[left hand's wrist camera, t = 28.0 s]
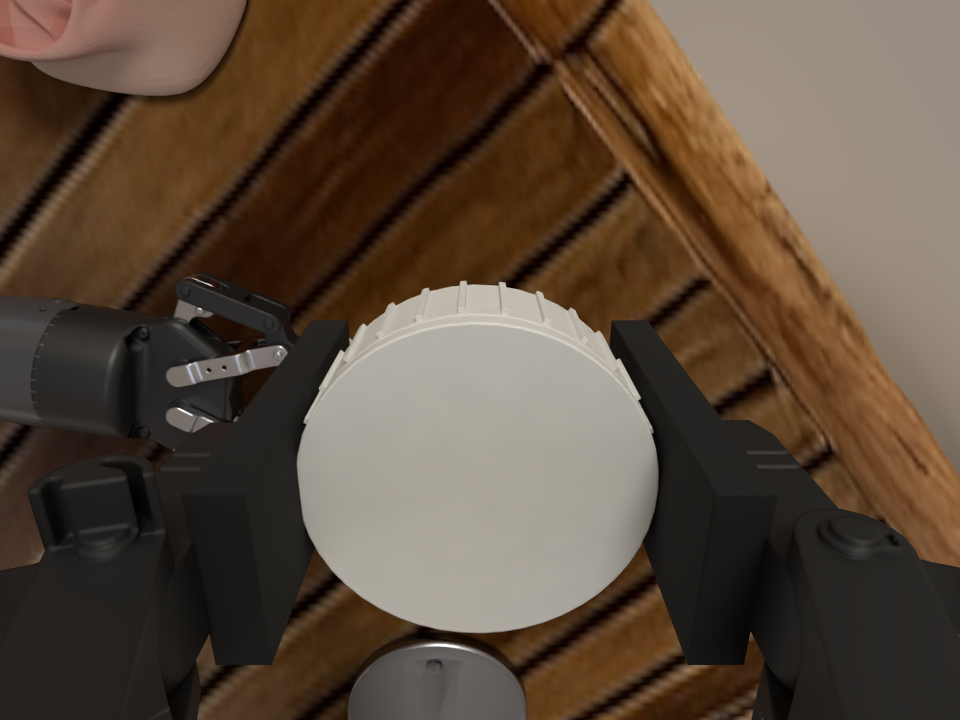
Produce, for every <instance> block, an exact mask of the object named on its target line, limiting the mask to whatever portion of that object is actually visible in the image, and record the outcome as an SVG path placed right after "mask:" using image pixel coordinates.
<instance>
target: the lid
mask: <svg viewBox="0 0 960 720" xmlns="http://www.w3.org/2000/svg"><path fill="white" fill-rule="evenodd" d="M319 390H320V391H319V393H318V395H317V397H316V399H315V401H314V402H313V404H312V406H311V408H310V410H309V411H308V413H307V415H306V417H305V419H304V423H305V424H306V427H305V429H304V432H303V434H302V437H301V441H300V446H299V450H298V454H297V472H298V481H299V489H300V498H301V506H302V514H303V521H304V524H305V527H306V529H307V532H308V535H309V537H310V539H311V540H312V542H313V544H314V546H315V547H316V549H317V551H318V553H319V554H320V556H321V557H322V558H323V560H324V561H325V562H326V564H327V565H328V566H329V568H330V569H331V570H332V571H333V572H334V573H335V574H336V575H337V576H338V577H339V578H340V579H341V580H342V581H343V582H344V583H345V584H346V585H347V586H348V587H349V588H351V589H352V590H353V591H354V592H356V593H357V594H358V595H359V596H361V597H362V598H363V599H365V600H367V601H368V602H370V603H371V604H373V605H375V606H376V607H378V608H379V609H382V610H384V611H386V612H388V613H390V614H392V615H394V616H396V617H398V618H401V619H404V620H407V621H410V622H412V623H415V624H418V625H422V626H426V627H430V628H435V629H439V630H446V631H454V632H465V633H489V632H503V631H509V630H515V629H520V628H525V627H529V626H532V625H536V624H540V623H543V622H546V621H548V620H551V619H553V618H556V617H558V616H561V615H563V614H565V613H567V612H569V611H571V610H573V609H575V608H577V607H579V606H581V605H582V604H584V603H585V602H587V601H588V600H590V599H591V598H593V597H594V596H595V595H597V594H598V593H600V592H601V591H602V590H603V589H604V588H605V587H607V586H608V585H609V584H610V583H611V582H612V581H613V580H615V578H616V577H617V576H618V575H619V574H620V573H621V572H622V571H623V569H624V568H625V567H626V566H627V565H628V564H629V562H630V561H631V559H632V558H633V556H634V555H635V553H636V552H637V550H638V549H639V547H640V546H641V543H642V541H643V539H644V537H645V535H646V533H647V531H648V529H649V526H650V523H651V520H652V517H653V514H654V511H655V506H656V500H657V495H658V482H659V467H658V460H657V453H656V447H655V444H654V441H653V437H652V433H654V432H653V428H652V426H651V424H650V422H649V420H648V418H647V416H646V414H645V413H644V411H643V409H642V407H641V405H640V403H639V401H638V400H639V399H641V397H640V395H639V393H638V392H637V390H636V388H635V386H634V384H633V382H632V380H631V379H630V377H629V375H628V373H627V371H626V369H625V367H624V366H623V364H622V362H621V360H620V359H617V360H615V358H614V356H613V354H612V352H611V350H610V348H609V346H608V344H607V342H606V340H605V339H604V337H603V335H602V334H601V332H600V331H598V332H596V333H594V332H593V331H592V330H591V329H590V328H589V327H588V326H587V325H586V324H584V323H583V322H582V321H581V320H580V319H579V318H578V315H577V313H576V311H575V310H574V309H572V308H570V309H569V310H568V311H567V310H565V309H564V308H562V307H560V306H559V305H557V304H555V303H553V302H551V301H548V300H546V299H544V296H543V293H541V292H538V291H537V292H536V294H535V295H534V294H531V293H527V292H524V291H521V290H517V289H512V288H506V284H505V283H502V282H499V286H490V285H467V281H461V282H460V286H454V287H448V288H443V289H439V290H434V291H429V288H425V289H423V290H422V293H421V295H419V296H416V297H413V298H410V299H408V300H406V301H404V302H402V303H400V304H398V305H397V306H396V305H395V304H394V303H391V304H389V305H388V307H387V309H386V311H385V313H384V314H382V315H381V316H379V317H378V318H376V319H375V320H374V321H373V322H372V323H370V324H369V325H368V326H366V325H365V324H362V325H361V326H360V327H359V329H358V331H357V333H356V335H355V337H354V339H353V341H352V342H351V344H350V346H349V347H348V348H347V350H346V351H345V352H343V351H341V350H340V352H339V353H338V355H337V357H336V359H335V360H334V362H333V364H332V366H331V368H330V369H329V371H328V373H327V375H326V376H325V378H324V380H323V382H322V384H321V385H320V387H319Z"/></svg>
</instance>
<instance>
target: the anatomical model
mask: <svg viewBox="0 0 960 720" xmlns="http://www.w3.org/2000/svg"><path fill="white" fill-rule="evenodd" d="M246 2H247V0H0V55H1V56H4V57H7V58H11V59H15V60H21V61H29V62H32V64H33V65H35V66H36V67H37V68H38V69H40V70H41V71H43V72H44V73H46V74H48V75H50V76H52V77H54V78H57V79H60V80H63V81H66V82H69V83H73V84H77V85H81V86H85V87H89V88H94V89H100V90H106V91H112V92H118V93H126V94H134V95H146V96H167V95H175V94H180V93H184V92H187V91H189V90H191V89H193V88H195V87H196V86H198V85H199V84H201V83H202V82H203V81H204V80H205V79H206V78H207V77H208V76H209V75H210V74H211V73H212V72H213V70H214V69H215V68H216V67H217V65H218V64H219V62H220V61H221V59H222V58H223V56H224V55H225V53H226V51H227V49H228V47H229V45H230V43H231V41H232V39H233V37H234V35H235V33H236V31H237V28H238V26H239V23H240V21H241V18H242V15H243V12H244V9H245V6H246Z"/></svg>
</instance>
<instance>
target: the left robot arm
mask: <svg viewBox="0 0 960 720" xmlns="http://www.w3.org/2000/svg"><path fill="white" fill-rule="evenodd" d="M349 346H350V341H349V329H348V321H312V322H311V323H310V324H309V326H308V327H307V328H306V330H305V331H304V332H303V334H302V335H301V336H300V338H299V339H298V340H297V342H296V343H295V344H294V346H293V347H292V348H291V350H290V351H289V352H288V354H287V355H286V356H285V357H284V359H283V360H282V361H281V363H280V364H279V365H278V367H277V368H276V369H275V371H274V372H273V373H272V375H271V376H270V377H269V379H268V380H267V381H266V383H265V384H264V385H263V387H262V388H261V389H260V391H259V392H258V393H257V394H256V396H255V397H254V398H253V400H252V401H251V402H250V404H249V405H248V406H247V408H246V409H245V410H244V412H243V413H242V414H241V416H240V417H239V418H238V420H237V421H236V422H211V423H209V424H207V425H206V426H204V427H202V428H201V429H199V430H197V431H195V432H194V433H192V434H190V435H189V436H187V437H186V438H185V439H184V440H183V441H182V442H181V444H180V445H179V446H178V447H177V448H176V449H175V451H174V452H173V453H172V457H168V459H167V460H166V461H165V462H164V463H163V464H162V465H161V467H160V468H159V469H160V470H159V471H156V472H155V471H154V467H153V463H151V462H150V461H148V460H147V459H146V458H144V457H142V456H137V455H131V454H106V455H100V456H96V457H91V458H86V459H81V460H79V461H76V462H73V463H70V464H68V465H65V466H62V467H60V468H57V469H56V470H54V471H52V472H50V473H49V474H47V475H45V476H43V477H42V478H40V479H39V480H38V481H37V482H36V483H35V484H34V485H33V486H32V487H31V488H30V489H29V490H28V491H27V494H28V497H29V500H30V503H31V507H32V510H33V513H34V516H35V520H36V523H37V526H38V529H39V533H40V536H41V539H42V542H43V546H44V549H45V552H44V554H43V556H42V558H41V560H40V562H39V563H35V564H31V565H26V566H21V567H16V568H11V569H6V570H1V571H0V720H197V716H198V708H199V700H200V692H201V686H200V679H199V673H198V669H197V664H196V659H197V657H198V655H199V653H200V651H201V649H202V647H203V645H204V643H205V641H206V639H207V637H208V635H209V634H210V638H211V643H212V648H213V653H214V658H215V663H216V665H272V663H273V660H274V657H275V655H276V652H277V649H278V647H279V644H280V641H281V638H282V636H283V633H284V630H285V627H286V625H287V622H288V619H289V617H290V614H291V611H292V608H293V606H294V603H295V600H296V598H297V595H298V592H299V589H300V587H301V584H302V581H303V579H304V576H305V573H306V570H307V568H308V565H309V562H310V559H311V557H312V554H313V551H314V549H315V546H314V544H313V542H312V540H311V539H310V537H309V535H308V532H307V529H306V527H305V524H304V521H303V514H302V506H301V498H300V489H299V481H298V472H297V454H298V450H299V446H300V441H301V437H302V434H303V432H304V429H305V427H306V424H305V423H304V419H305V417H306V415H307V413H308V411H309V410H310V408H311V406H312V404H313V402H314V401H315V399H316V397H317V395H318V393H319V391H320V390H319V387H320V385H321V384H322V382H323V380H324V378H325V376H326V375H327V373H328V371H329V369H330V368H331V366H332V364H333V362H334V360H335V359H336V357H337V355H338V353H339V352H340V350H341V351H343V352H345V351H346V350H347V348H348V347H349ZM610 350H611V352H612V354H613V356H614V358H615V360H617V359H620V360H621V362H622V364H623V366H624V367H625V369H626V371H627V373H628V375H629V377H630V379H631V380H632V382H633V384H634V386H635V388H636V390H637V392H638V393H639V395H640V397H641V399H639V400H638V401H639V403H640V405H641V407H642V409H643V411H644V413H645V414H646V416H647V418H648V420H649V422H650V424H651V426H652V428H653V432H654V433H652V437H653V441H654V444H655V447H656V453H657V460H658V467H659V482H658V495H657V500H656V506H655V511H654V514H653V517H652V520H651V523H650V526H649V529H648V531H647V533H646V535H645V537H644V539H643V541H642V542H643V544H644V547H645V550H646V552H647V555H648V558H649V561H650V563H651V566H652V569H653V571H654V574H655V577H656V580H657V582H658V585H659V588H660V591H661V593H662V596H663V599H664V601H665V604H666V607H667V610H668V612H669V615H670V618H671V620H672V623H673V626H674V629H675V631H676V634H677V637H678V639H679V642H680V645H681V648H682V650H683V653H684V656H685V659H686V661H687V664H688V665H744V661H745V656H746V651H747V646H748V641H749V636H750V631H751V633H752V635H753V637H754V639H755V641H756V643H757V645H758V647H759V648H760V650H761V652H762V654H763V656H764V658H765V660H764V664H763V669H762V673H761V678H760V682H759V687H758V692H757V696H756V701H755V705H754V710H753V715H752V720H762V718H763V720H960V568H959V567H954V566H949V565H943V564H938V563H933V562H929V561H925V560H921V559H919V557H918V555H917V553H916V551H915V549H914V548H913V547H912V546H911V544H910V543H909V542H908V541H907V540H906V538H905V537H904V536H903V535H901V534H900V533H898V532H897V531H895V530H894V529H892V528H891V527H889V526H888V525H886V524H884V523H882V522H880V521H877V520H875V519H873V518H870V517H868V516H866V515H863V514H859V513H855V512H851V511H847V510H842V509H838V508H837V506H836V505H835V504H834V503H833V502H832V501H831V500H830V498H829V497H828V496H827V495H826V494H825V493H824V492H823V490H822V489H821V488H820V487H819V486H818V485H817V484H816V482H815V481H814V480H813V479H812V478H811V477H810V476H809V474H808V473H807V472H806V471H805V470H804V469H801V465H800V464H799V463H798V462H797V461H796V460H795V458H794V457H793V456H792V455H788V450H787V449H786V448H785V447H784V446H783V445H782V444H781V442H780V441H779V440H778V439H777V438H776V437H775V436H774V435H773V434H772V433H770V432H768V431H767V430H765V429H763V428H761V427H760V426H758V425H756V424H755V423H753V422H751V421H749V420H722V419H721V418H720V416H719V415H718V414H717V412H716V411H715V410H714V408H713V407H712V406H711V404H710V403H709V402H708V400H707V399H706V398H705V396H704V395H703V394H702V392H701V391H700V390H699V388H698V387H697V386H696V385H695V383H694V382H693V381H692V379H691V378H690V377H689V375H688V374H687V373H686V371H685V370H684V369H683V367H682V366H681V365H680V363H679V362H678V361H677V359H676V358H675V357H674V355H673V354H672V353H671V351H670V350H669V349H668V347H667V346H666V345H665V344H664V342H663V341H662V340H661V338H660V337H659V336H658V334H657V333H656V332H655V330H654V329H653V328H652V326H651V325H650V324H649V322H648V321H612V323H611V336H610ZM348 720H527V705H526V694H525V688H524V685H523V681H522V679H521V677H520V675H519V673H518V671H517V670H516V668H515V667H514V666H513V664H512V663H511V662H510V661H509V660H508V659H507V658H506V657H505V656H504V655H503V654H501V653H500V652H499V651H497V650H496V649H495V648H493V647H491V646H489V645H488V644H486V643H483V642H481V641H479V640H476V639H473V638H470V637H467V636H463V635H458V634H451V633H423V634H417V635H412V636H408V637H404V638H401V639H398V640H396V641H393V642H391V643H389V644H387V645H385V646H384V647H382V648H380V649H379V650H378V651H376V652H375V653H374V654H372V655H371V656H370V657H369V658H368V659H367V660H366V661H365V662H364V664H363V665H362V666H361V668H360V669H359V671H358V672H357V674H356V676H355V679H354V681H353V685H352V689H351V694H350V699H349V703H348Z"/></svg>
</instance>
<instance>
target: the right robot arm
mask: <svg viewBox="0 0 960 720" xmlns="http://www.w3.org/2000/svg"><path fill="white" fill-rule="evenodd" d="M174 291H175V295H176V296H177V298H178V303H177V306H176V310H175V313H174V314H172V315H170V316H166V317H156V316H153V315H150V314H143V313H137V312H131V311H124V310H118V309H112V308H106V307H99V306H93V305H86V304H80V303H74V302H72V301H71V300H67V299H60V298H51V299H49V298H41V297H32V296H5V295H0V420H2V421H7V422H12V423H18V424H25V425H32V426H39V427H45V428H52V429H59V430H66V431H73V432H80V433H87V434H94V435H101V436H107V437H114V438H121V439H135V438H148V439H151V440H154V441H156V442H158V443H160V444H162V445H163V446H165V447H167V448H169V449H173V452H174V451H175V449H176V448H177V447H178V446H179V445H180V444H181V442H182V441H183V440H184V439H185V438H186V437H187V436H189V435H190V434H192V433H194V432H195V431H197V430H199V429H201V428H202V427H204V426H206V425H207V424H209V423H211V422H236V421H237V420H238V418H239V417H240V416H241V414H242V413H243V412H244V410H245V409H246V408H247V406H248V405H246V404H244V403H243V394H242V390H241V385H240V384H241V381H242V378H243V376H244V374H246V373H248V372H250V371H252V370H256V369H262V368H268V367H273V366H278V365H279V364H280V363H281V361H282V360H283V359H284V357H285V356H286V355H287V354H288V352H289V351H290V350H291V348H292V347H293V346H294V344H295V343H296V342H297V340H298V339H299V338H300V337H298V336H297V335H296V334H295V333H294V331H293V329H292V326H291V322H290V319H289V318H290V316H291V311H290V308H289V307H288V306H287V305H286V304H284V303H281V302H279V301H276V300H274V299H271V298H269V297H266V296H264V295H261V294H259V293H256V292H254V291H251V290H249V289H246V288H244V287H242V286H239V285H237V284H234V283H232V282H229V281H227V280H224V279H222V278H219V277H217V276H214V275H212V274H209V273H207V272H204V271H198V272H196V273H194V274H192V275H190V276H188V277H186V278H184V279H183V280H182V281H180V282H178V283H177V284H176V286H175V289H174ZM213 314H216V315H219V316H221V317H224V318H227V319H229V320H232V321H234V322H237V323H239V324H242V325H244V326H247V327H249V328H252V329H255V330H257V331H260V332H262V333H264V337H259V336H252V337H246V338H240V339H235V340H229V341H223V340H222V339H221V338H220V337H219V336H217V335H216V334H215V333H214V332H213V331H211V330H210V329H209V328H208V327H207V326H206V325H204V324H203V323H202V322H201V321H200V320H198V319H197V318H196V317H197V316H199V317H204V318H207V317H210V316H212V315H213Z"/></svg>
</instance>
